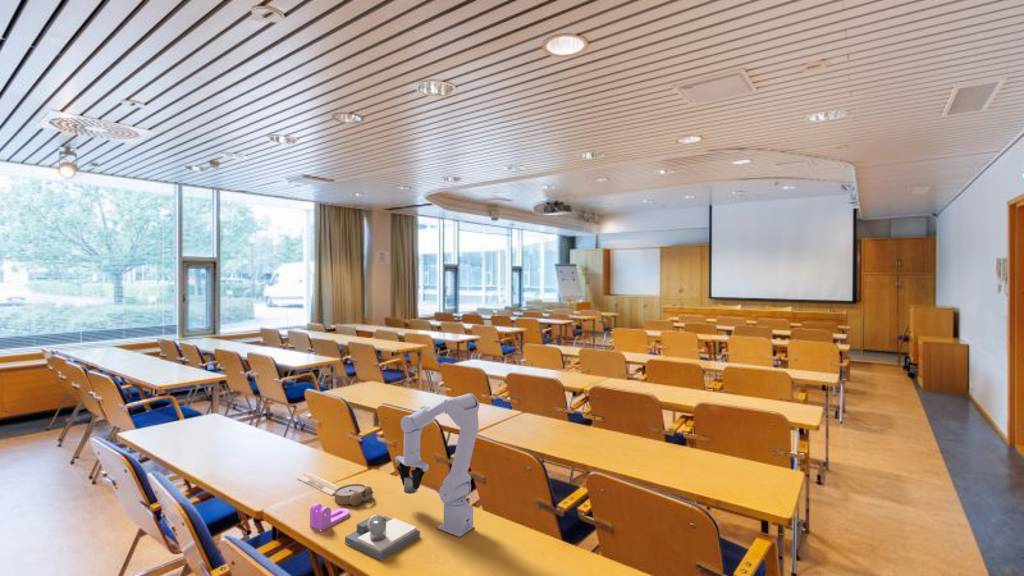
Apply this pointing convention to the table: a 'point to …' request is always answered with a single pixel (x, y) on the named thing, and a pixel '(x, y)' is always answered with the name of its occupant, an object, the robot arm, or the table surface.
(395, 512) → the table surface
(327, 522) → the bracket
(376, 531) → the cylinder
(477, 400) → the robot arm
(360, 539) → the scale
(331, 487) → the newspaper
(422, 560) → the table surface
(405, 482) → the cylinder
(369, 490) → the alarm clock
